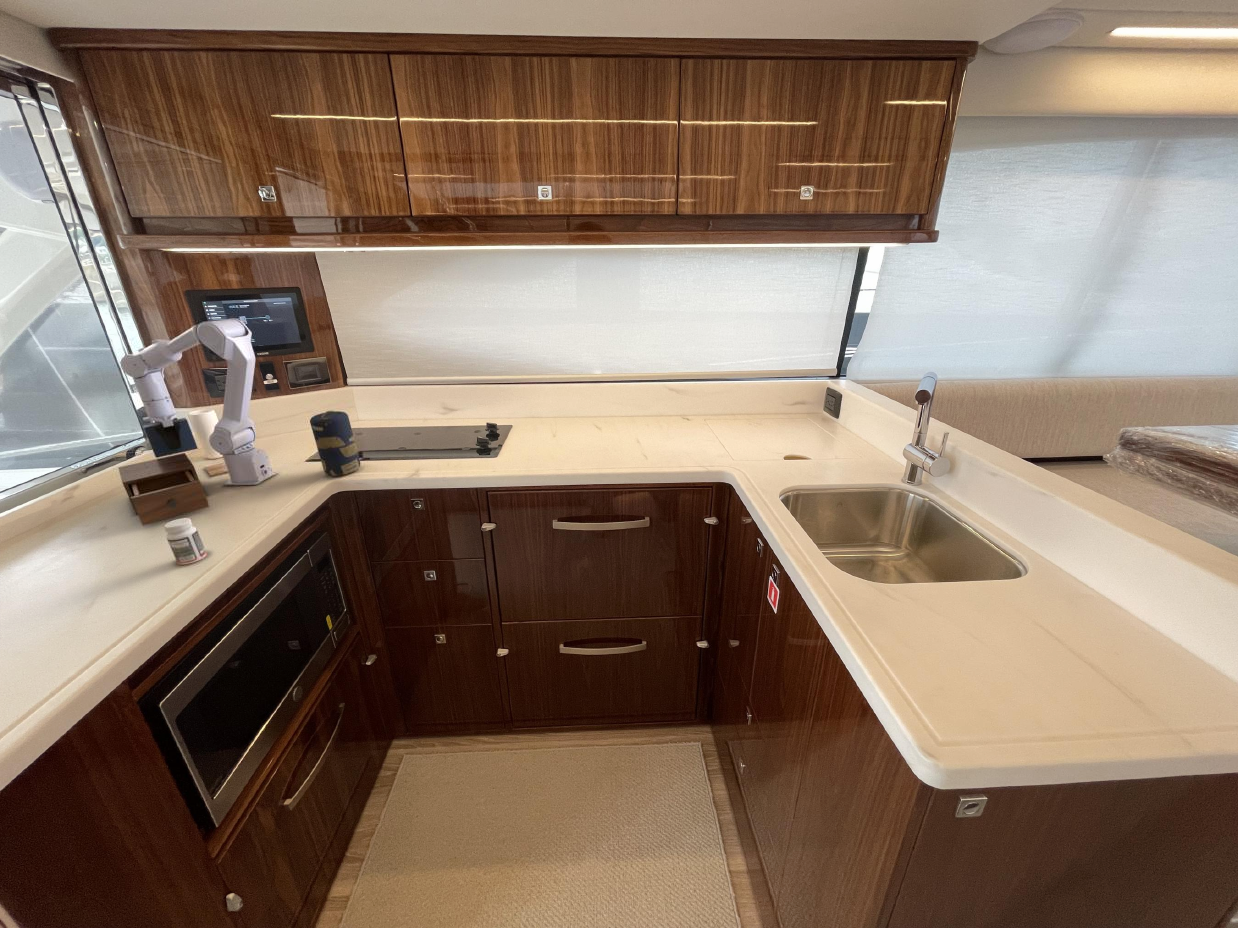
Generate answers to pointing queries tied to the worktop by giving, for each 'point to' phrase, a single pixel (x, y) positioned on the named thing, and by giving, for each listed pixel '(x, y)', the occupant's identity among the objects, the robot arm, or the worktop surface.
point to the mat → (217, 469)
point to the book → (160, 444)
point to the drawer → (167, 497)
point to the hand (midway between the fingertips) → (175, 447)
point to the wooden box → (154, 471)
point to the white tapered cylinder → (205, 429)
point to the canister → (335, 442)
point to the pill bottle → (184, 541)
